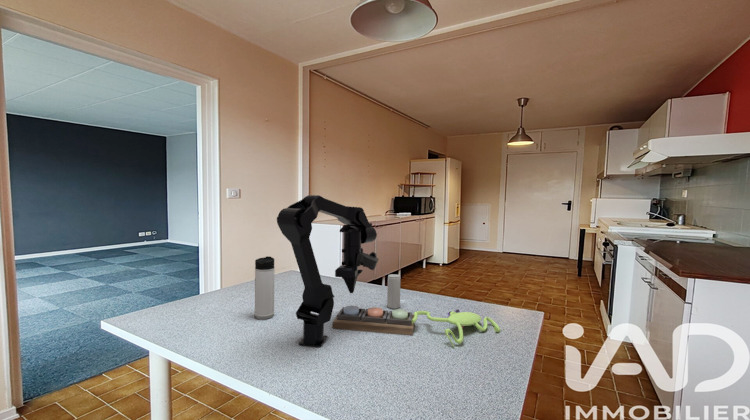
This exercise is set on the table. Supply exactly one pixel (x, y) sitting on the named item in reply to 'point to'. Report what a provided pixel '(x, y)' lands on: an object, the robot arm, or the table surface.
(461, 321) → the figurine
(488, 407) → the table surface
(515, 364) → the table surface
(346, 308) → the blue-grey flat rounded piece
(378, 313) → the terracotta button
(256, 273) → the travel mug
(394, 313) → the sage button
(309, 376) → the table surface
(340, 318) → the button panel
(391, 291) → the beverage can
